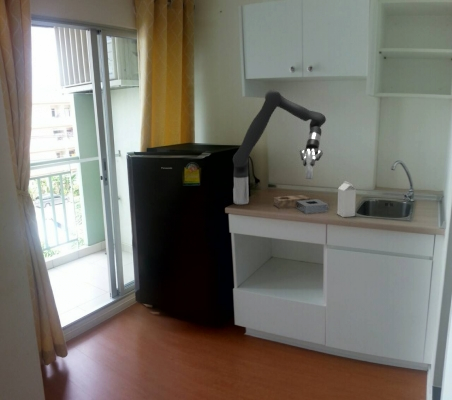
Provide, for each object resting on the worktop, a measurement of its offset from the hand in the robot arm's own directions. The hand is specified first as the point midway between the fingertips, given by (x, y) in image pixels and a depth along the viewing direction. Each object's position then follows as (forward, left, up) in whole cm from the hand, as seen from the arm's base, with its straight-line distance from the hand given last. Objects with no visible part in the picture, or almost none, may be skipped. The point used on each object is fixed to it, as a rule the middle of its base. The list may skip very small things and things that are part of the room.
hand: (308, 165), depth 238 cm
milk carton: (+15, -18, -27) cm, 36 cm away
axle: (+1, +2, -8) cm, 8 cm away
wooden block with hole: (-5, +13, -27) cm, 30 cm away
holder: (+2, -1, -27) cm, 27 cm away
